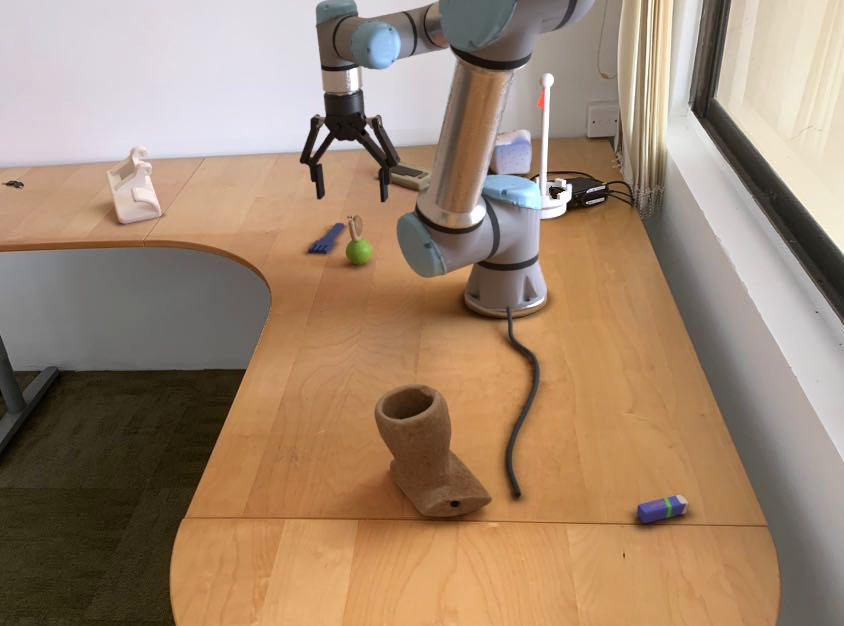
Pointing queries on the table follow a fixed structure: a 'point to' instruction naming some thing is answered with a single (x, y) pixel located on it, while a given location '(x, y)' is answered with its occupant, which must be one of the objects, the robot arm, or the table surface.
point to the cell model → (512, 153)
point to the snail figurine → (357, 242)
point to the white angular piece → (133, 188)
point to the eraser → (662, 508)
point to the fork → (326, 240)
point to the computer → (410, 175)
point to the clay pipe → (426, 452)
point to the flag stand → (547, 202)
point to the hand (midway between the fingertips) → (352, 198)
